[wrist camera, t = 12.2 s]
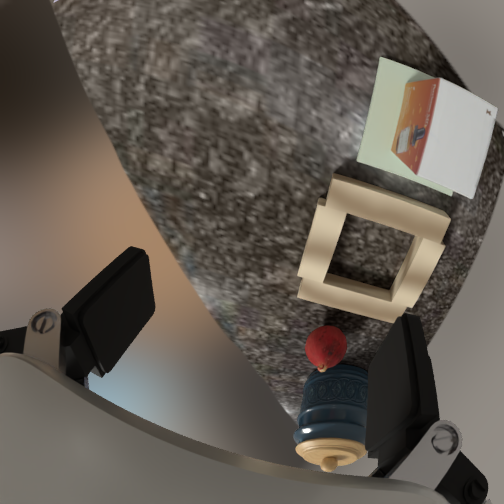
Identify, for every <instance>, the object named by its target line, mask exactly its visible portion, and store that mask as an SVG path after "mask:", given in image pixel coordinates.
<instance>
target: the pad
mask: <svg viewBox="0 0 504 504" xmlns="http://www.w3.org/2000/svg"><path fill="white" fill-rule="evenodd" d="M431 78H434V77H432V76H430V75H427V74H425V73H423V72H420V71H418V70H416V69H413V68H411V67H408V66H405V65H403V64H400V63H397V62H395V61H392V60H389V59H386V58H383V57H380V58H379V64H378V69H377V74H376V79H375V84H374V89H373V94H372V98H371V103H370V107H369V112H368V116H367V120H366V124H365V128H364V133H363V137H362V140H361V144H360V148H359V152H358V156H357V160H356V161H357V162H360V163H363V164H366V165H370V166H373V167H376V168H379V169H382V170H385V171H388V172H390V173H393V174H396V175H399V176H402V177H404V178H407V179H410V180H412V181H415V182H418V183H420V184H423V185H425V186H428V187H430V188H433V189H435V190H438V191H440V192H442V193H445V194H447V195H449V196H452V193H453V191H452V190H450V189H448V188H445V187H443V186H441V185H438V184H436V183H433V182H431V181H429V180H426V179H424V178H421V177H419V176H416V175H415V174H414V173H413V172H412V171H411V170H410V169H409V168H408V167H407V166H406V165H405V164H404V163H403V162H402V161H401V160H400V159H399V158H398V157H397V156H396V155H395V154H394V153H393V152H392V151H391V147H392V144H393V140H394V136H395V132H396V128H397V124H398V120H399V116H400V111H401V107H402V102H403V97H404V90H405V84H406V83H408V82H413V81H419V80H425V79H431Z"/></svg>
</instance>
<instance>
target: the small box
mask: <svg viewBox="0 0 504 504" xmlns="http://www.w3.org/2000/svg"><path fill="white" fill-rule="evenodd" d="M497 112H498V108H497V107H496V106H494V105H492V104H491V103H489V102H487V101H486V100H484V99H482V98H480V97H479V96H477V95H475V94H473V93H471V92H469V91H467V90H465V89H464V88H462V87H460V86H458V85H456V84H454V83H451V82H449V81H447V80H445V79H443V78H440V77H439V78H431V79H425V80H419V81H413V82H408V83H406V84H405V90H404V97H403V102H402V107H401V111H400V116H399V120H398V124H397V128H396V132H395V136H394V140H393V144H392V147H391V151H392V152H393V153H394V154H395V155H396V156H397V157H398V158H399V159H400V160H401V161H402V162H403V163H404V164H405V165H406V166H407V167H408V168H409V169H410V170H411V171H412V172H413V173H414V174H415V175H416V176H419V177H421V178H424V179H426V180H429V181H431V182H433V183H436V184H438V185H441V186H443V187H445V188H448V189H450V190H452V191H455V192H457V193H459V194H461V195H464V196H466V197H468V198H470V199H473V197H474V194H475V191H476V188H477V184H478V181H479V178H480V175H481V172H482V168H483V165H484V161H485V158H486V155H487V151H488V147H489V143H490V139H491V136H492V131H493V127H494V123H495V120H496V116H497Z"/></svg>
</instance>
